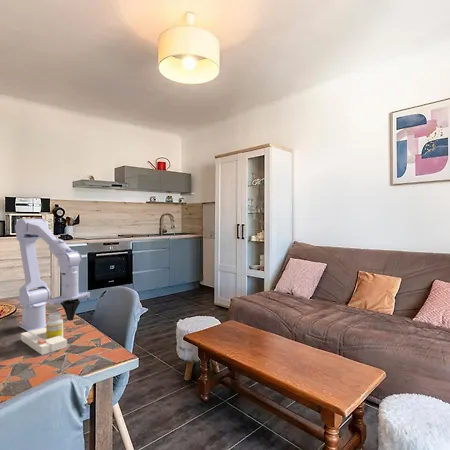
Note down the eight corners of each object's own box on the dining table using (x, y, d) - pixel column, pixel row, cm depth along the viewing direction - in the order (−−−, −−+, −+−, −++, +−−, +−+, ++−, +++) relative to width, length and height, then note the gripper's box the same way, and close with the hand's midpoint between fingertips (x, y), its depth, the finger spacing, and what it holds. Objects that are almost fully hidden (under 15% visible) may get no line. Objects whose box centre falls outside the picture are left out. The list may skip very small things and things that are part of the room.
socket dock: (20, 340, 113) (20, 331, 113) (44, 333, 120) (44, 325, 119) (41, 354, 101) (41, 344, 101) (67, 346, 108) (67, 337, 107)
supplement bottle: (51, 337, 116) (51, 311, 116) (66, 337, 116) (66, 311, 115) (43, 343, 110) (43, 316, 110) (58, 343, 110) (58, 316, 110)
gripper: (54, 289, 109) (54, 327, 110) (94, 282, 120) (94, 317, 121) (46, 286, 114) (46, 322, 114) (85, 279, 125) (85, 313, 125)
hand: (70, 319), depth 118 cm, fingers closed
